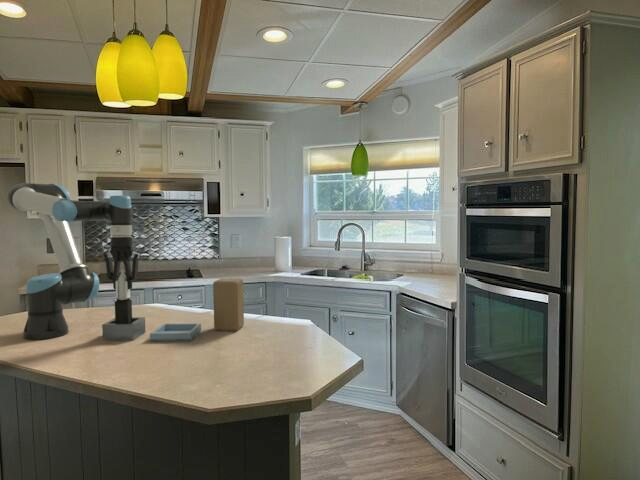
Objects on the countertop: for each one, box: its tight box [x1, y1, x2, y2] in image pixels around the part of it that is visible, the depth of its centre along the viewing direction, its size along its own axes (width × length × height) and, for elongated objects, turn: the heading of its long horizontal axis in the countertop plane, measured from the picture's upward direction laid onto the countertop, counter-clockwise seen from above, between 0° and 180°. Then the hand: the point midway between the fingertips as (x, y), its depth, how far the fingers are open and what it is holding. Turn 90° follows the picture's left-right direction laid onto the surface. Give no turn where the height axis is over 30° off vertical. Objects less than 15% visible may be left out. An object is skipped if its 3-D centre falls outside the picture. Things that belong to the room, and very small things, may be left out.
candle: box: [114, 268, 133, 324], centre depth 175 cm, size 5×5×25 cm
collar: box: [101, 316, 146, 342], centre depth 176 cm, size 12×12×6 cm
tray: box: [149, 322, 202, 343], centre depth 176 cm, size 15×15×3 cm
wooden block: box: [212, 277, 245, 332], centre depth 186 cm, size 10×10×20 cm
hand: (123, 297), depth 175 cm, fingers closed on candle, 3 cm apart
